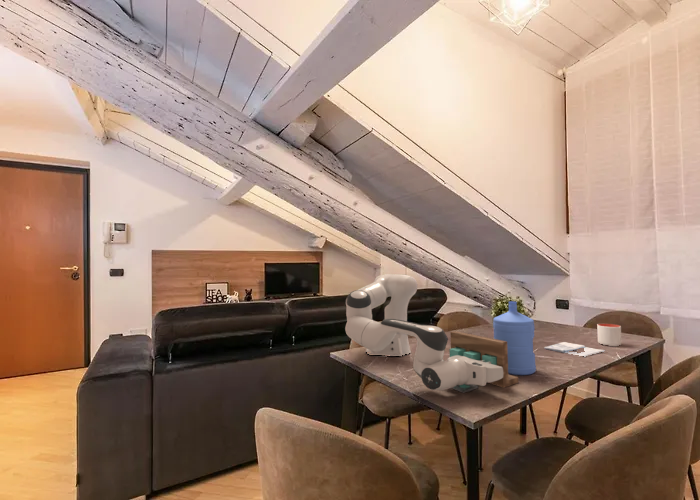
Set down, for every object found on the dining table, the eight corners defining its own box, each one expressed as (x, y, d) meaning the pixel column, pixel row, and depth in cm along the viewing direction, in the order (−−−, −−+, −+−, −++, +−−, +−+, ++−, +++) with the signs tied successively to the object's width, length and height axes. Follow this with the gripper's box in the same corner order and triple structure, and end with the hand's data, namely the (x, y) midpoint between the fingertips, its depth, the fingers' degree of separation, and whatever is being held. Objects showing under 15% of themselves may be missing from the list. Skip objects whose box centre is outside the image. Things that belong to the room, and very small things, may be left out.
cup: (626, 346, 184) (625, 327, 184) (606, 347, 184) (605, 327, 184) (612, 342, 194) (611, 323, 194) (593, 342, 194) (592, 323, 194)
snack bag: (565, 345, 192) (565, 340, 192) (607, 353, 174) (607, 348, 174) (542, 350, 183) (542, 345, 183) (584, 359, 165) (584, 354, 165)
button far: (458, 362, 142) (458, 351, 142) (449, 360, 146) (449, 349, 146) (470, 359, 146) (469, 348, 146) (461, 357, 150) (461, 346, 150)
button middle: (473, 366, 136) (472, 354, 136) (463, 364, 140) (463, 352, 140) (485, 363, 140) (484, 352, 140) (475, 360, 144) (475, 349, 144)
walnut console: (503, 387, 130) (502, 342, 130) (451, 371, 150) (450, 332, 151) (518, 382, 135) (517, 339, 135) (466, 367, 155) (465, 329, 155)
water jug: (516, 378, 140) (514, 305, 141) (486, 367, 154) (484, 301, 155) (544, 372, 146) (542, 302, 147) (513, 362, 160) (511, 298, 161)
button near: (492, 370, 131) (492, 358, 132) (482, 367, 135) (482, 355, 135) (504, 366, 135) (504, 355, 135) (494, 364, 139) (493, 352, 139)
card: (463, 392, 126) (463, 390, 126) (433, 381, 138) (433, 379, 138) (478, 388, 130) (478, 385, 130) (448, 377, 142) (448, 375, 142)
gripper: (440, 371, 134) (465, 365, 142) (487, 387, 117) (513, 379, 125) (439, 354, 135) (464, 348, 142) (487, 367, 117) (512, 360, 125)
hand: (487, 363), depth 133 cm, fingers closed, pressing on button near
